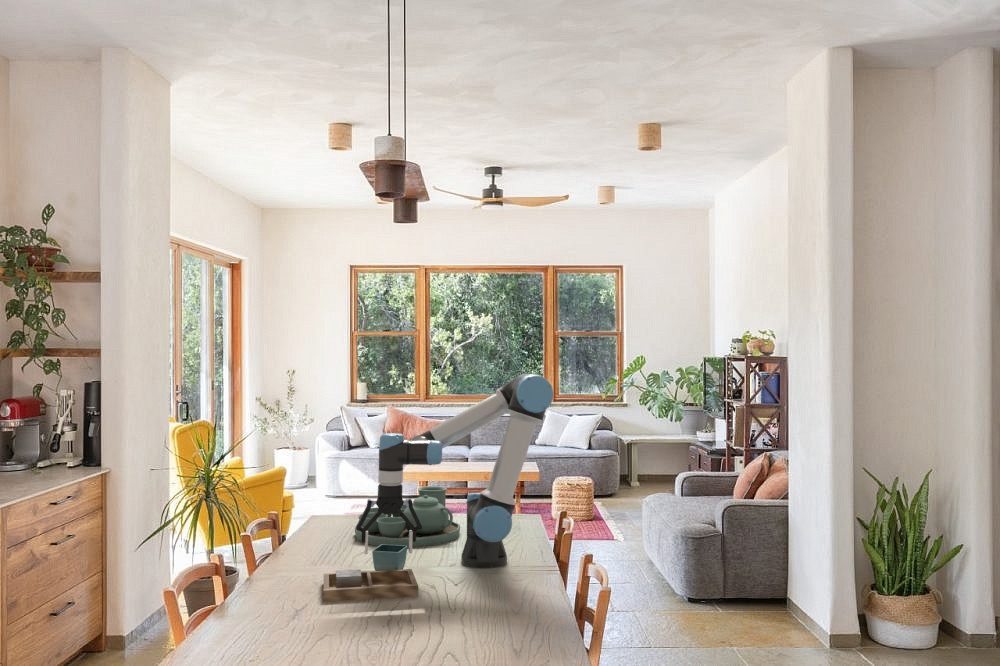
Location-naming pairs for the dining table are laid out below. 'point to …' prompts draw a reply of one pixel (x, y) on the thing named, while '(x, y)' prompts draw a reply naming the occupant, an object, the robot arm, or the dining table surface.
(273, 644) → the dining table surface
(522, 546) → the dining table surface
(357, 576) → the grey metal block
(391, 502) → the robot arm
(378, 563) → the flower pot
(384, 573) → the wooden divided tray
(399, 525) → the tea set
